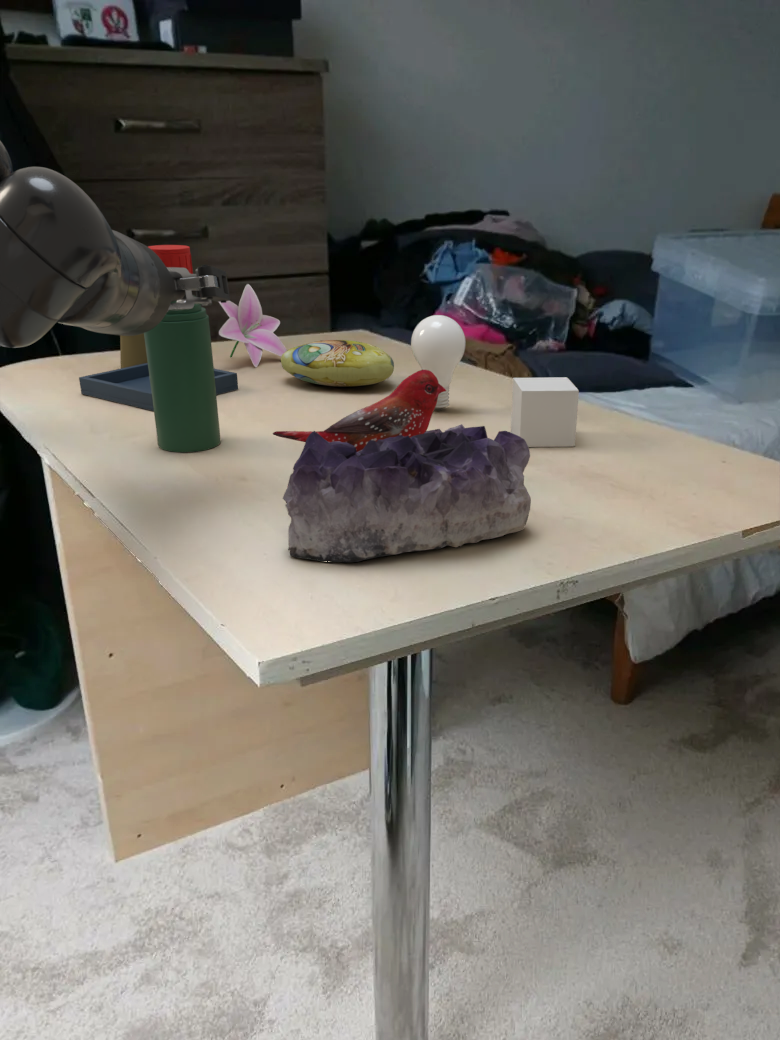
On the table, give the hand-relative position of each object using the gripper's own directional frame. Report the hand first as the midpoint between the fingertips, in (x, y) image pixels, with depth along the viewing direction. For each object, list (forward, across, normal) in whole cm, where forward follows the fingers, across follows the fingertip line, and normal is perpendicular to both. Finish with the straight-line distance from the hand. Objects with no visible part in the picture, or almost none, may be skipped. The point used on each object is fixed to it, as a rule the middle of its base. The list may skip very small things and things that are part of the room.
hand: (161, 298), depth 87 cm
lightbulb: (+22, -25, +14) cm, 36 cm away
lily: (+49, 0, +6) cm, 49 cm away
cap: (+5, 0, -1) cm, 5 cm away
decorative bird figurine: (-4, -17, +19) cm, 26 cm away
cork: (+43, +14, +5) cm, 46 cm away
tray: (+31, +9, +8) cm, 33 cm away
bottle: (+9, +2, +14) cm, 16 cm away
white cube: (+10, -36, +18) cm, 41 cm away
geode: (-17, -20, +22) cm, 35 cm away
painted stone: (+35, -13, +10) cm, 39 cm away
